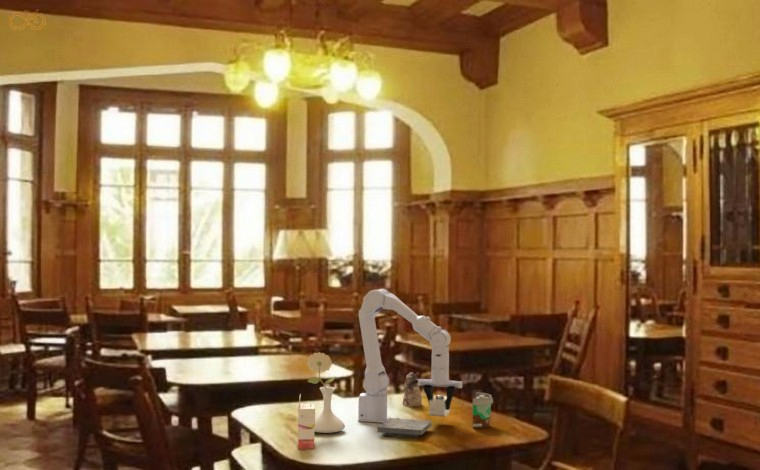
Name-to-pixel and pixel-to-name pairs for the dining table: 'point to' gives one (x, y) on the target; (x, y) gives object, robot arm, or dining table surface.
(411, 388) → the figurine
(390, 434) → the stand
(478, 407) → the food container
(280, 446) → the dining table surface
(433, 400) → the block
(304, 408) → the juice box
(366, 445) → the dining table surface
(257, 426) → the dining table surface
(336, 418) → the flower in vase
